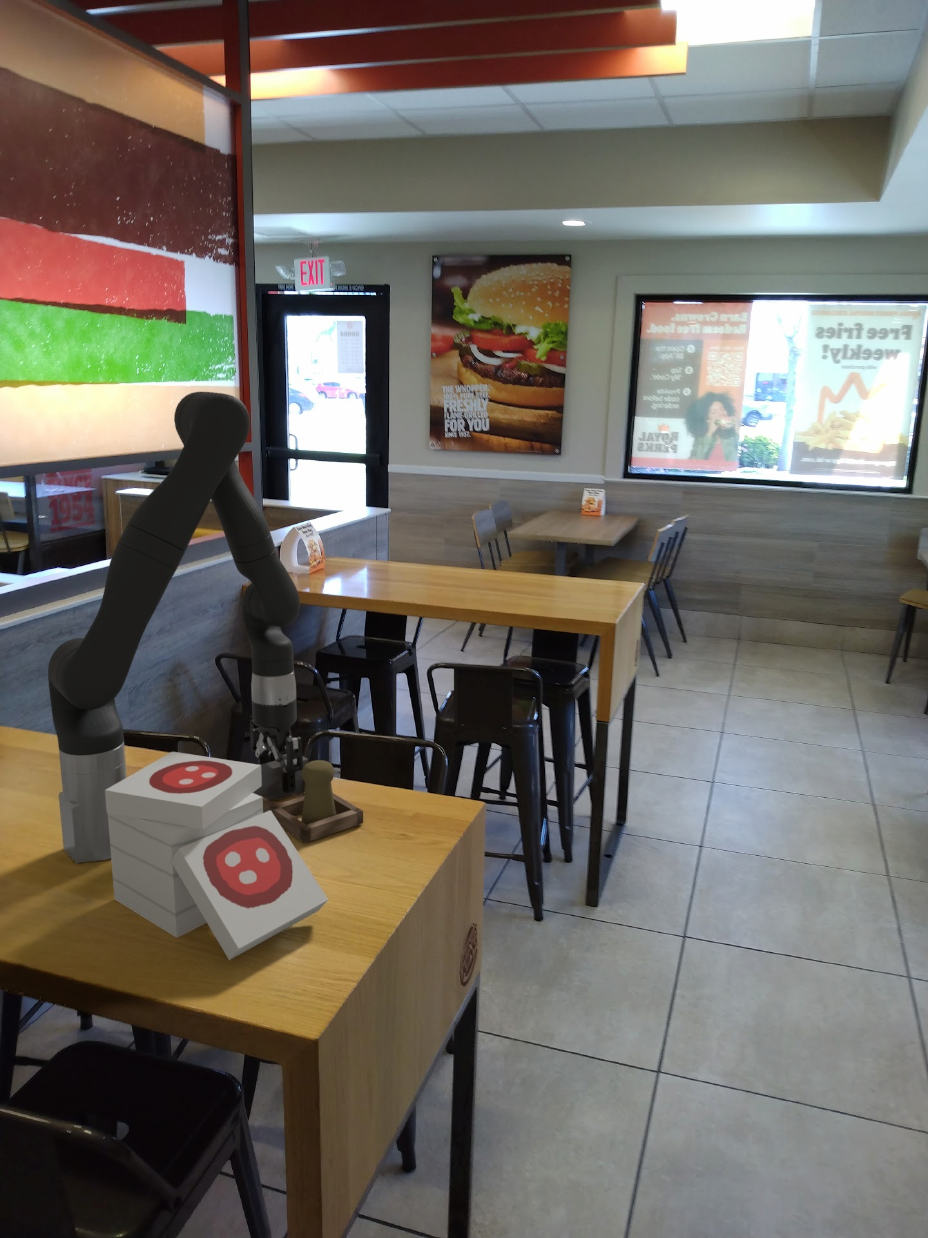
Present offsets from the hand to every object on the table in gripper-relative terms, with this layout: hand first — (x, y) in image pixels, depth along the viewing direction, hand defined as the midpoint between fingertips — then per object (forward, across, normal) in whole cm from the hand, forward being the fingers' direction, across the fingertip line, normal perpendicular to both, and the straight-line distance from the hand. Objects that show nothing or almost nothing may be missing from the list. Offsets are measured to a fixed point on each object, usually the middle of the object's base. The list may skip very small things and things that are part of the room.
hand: (276, 783), depth 163 cm
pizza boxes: (+3, +27, -25) cm, 37 cm away
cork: (+3, +14, 0) cm, 14 cm away
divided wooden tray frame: (+3, +8, 0) cm, 9 cm away
